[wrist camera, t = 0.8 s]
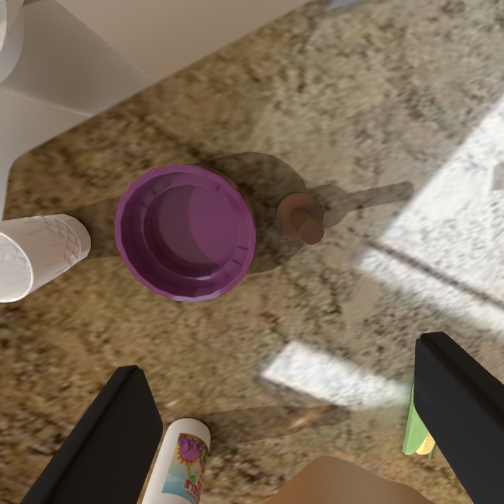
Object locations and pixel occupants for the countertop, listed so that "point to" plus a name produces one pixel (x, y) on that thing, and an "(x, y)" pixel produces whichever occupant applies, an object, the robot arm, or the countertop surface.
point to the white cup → (38, 252)
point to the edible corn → (417, 433)
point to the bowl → (186, 232)
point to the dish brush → (300, 218)
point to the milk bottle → (180, 464)
